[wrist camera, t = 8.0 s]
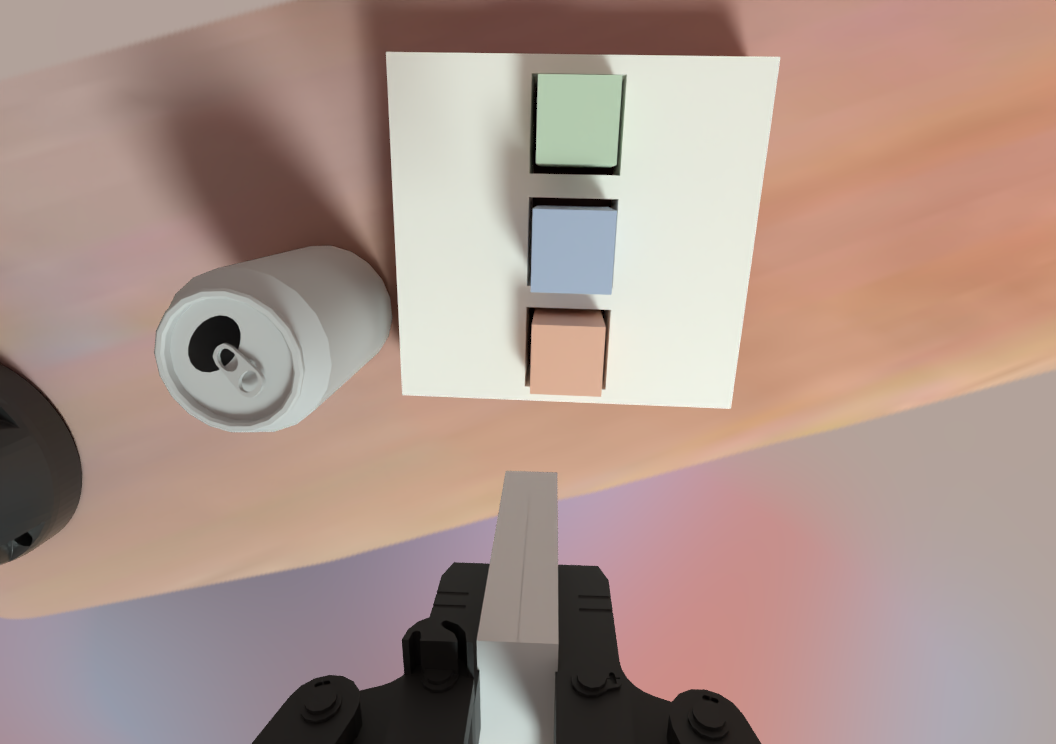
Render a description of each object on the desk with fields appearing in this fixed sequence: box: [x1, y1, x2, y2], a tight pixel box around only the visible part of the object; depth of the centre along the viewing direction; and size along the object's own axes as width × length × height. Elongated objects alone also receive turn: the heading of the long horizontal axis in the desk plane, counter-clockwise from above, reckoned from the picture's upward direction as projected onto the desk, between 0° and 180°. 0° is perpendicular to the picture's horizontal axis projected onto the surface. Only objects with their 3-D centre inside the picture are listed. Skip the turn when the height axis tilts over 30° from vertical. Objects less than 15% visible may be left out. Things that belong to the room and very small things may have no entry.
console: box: [386, 52, 780, 409], centre depth 31 cm, size 18×17×4 cm
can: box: [154, 246, 392, 432], centre depth 29 cm, size 8×8×12 cm
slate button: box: [531, 205, 617, 295], centre depth 27 cm, size 4×4×5 cm
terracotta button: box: [530, 307, 606, 397], centre depth 31 cm, size 4×4×5 cm
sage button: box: [536, 74, 622, 168], centre depth 27 cm, size 4×4×5 cm
